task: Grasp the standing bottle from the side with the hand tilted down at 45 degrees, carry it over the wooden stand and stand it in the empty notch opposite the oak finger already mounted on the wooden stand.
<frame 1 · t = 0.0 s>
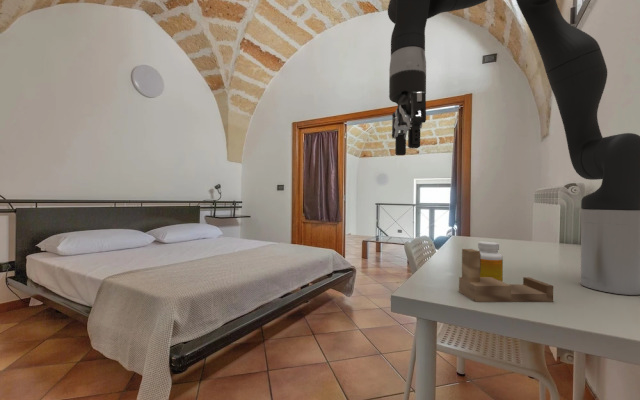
hand: (406, 151, 59), 29 cm above the table, tool pointing down, fingers open, 8 cm apart
wooden stand: (503, 296, 55), on the table
supplement bottle: (488, 287, 61), on the table
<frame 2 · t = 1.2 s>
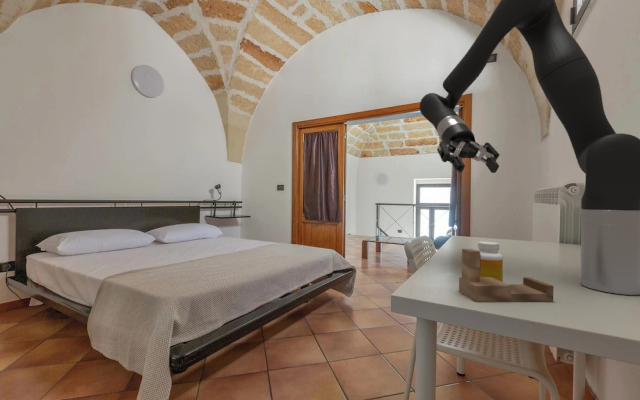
hand: (479, 169, 68), 27 cm above the table, tool tilted 45°, fingers open, 8 cm apart
nothing on the table moved.
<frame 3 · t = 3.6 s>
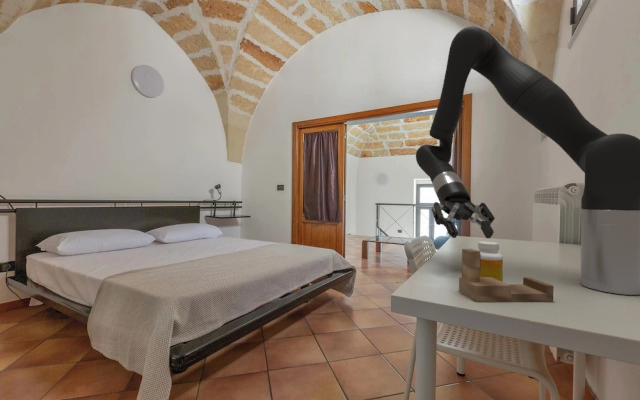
hand: (472, 236, 67), 10 cm above the table, tool tilted 45°, fingers open, 8 cm apart
nothing on the table moved.
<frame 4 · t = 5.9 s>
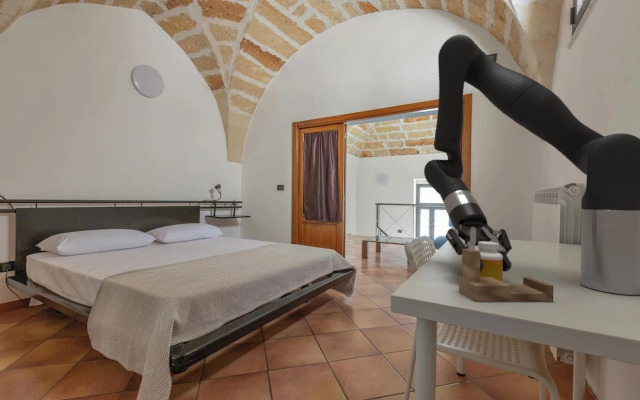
hand: (493, 269, 60), 4 cm above the table, tool tilted 45°, fingers closed on supplement bottle, 5 cm apart
supplement bottle: (488, 287, 61), on the table, touching gripper
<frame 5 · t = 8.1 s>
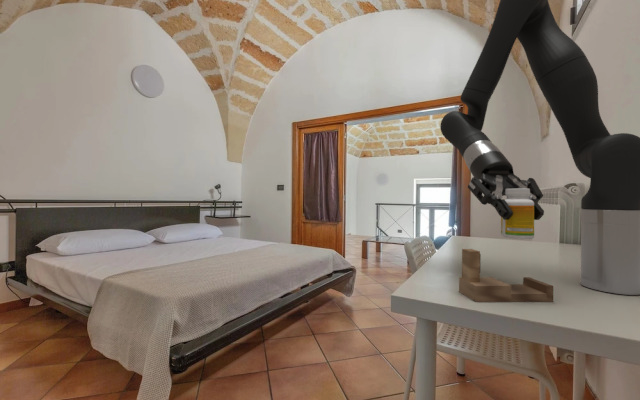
hand: (524, 216, 53), 16 cm above the table, tool tilted 45°, fingers closed on supplement bottle, 5 cm apart
supplement bottle: (517, 238, 55), point 11 cm above the table, touching gripper
when the fingers open (7 cm above the table, at t = 10.2 s): supplement bottle drops 1 cm, resting on wooden stand.
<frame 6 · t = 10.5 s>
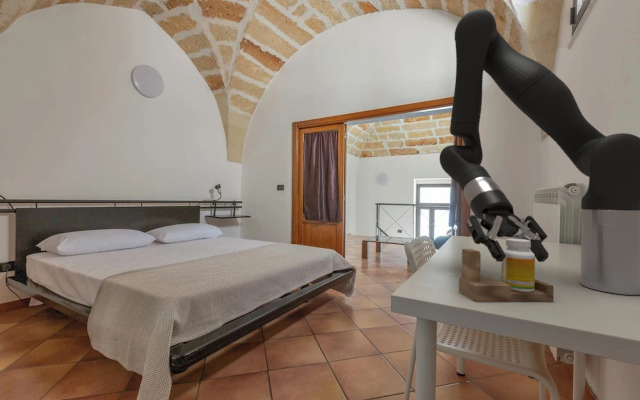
hand: (523, 259, 54), 8 cm above the table, tool tilted 45°, fingers open, 8 cm apart
supplement bottle: (517, 289, 55), point 1 cm above the table, touching wooden stand
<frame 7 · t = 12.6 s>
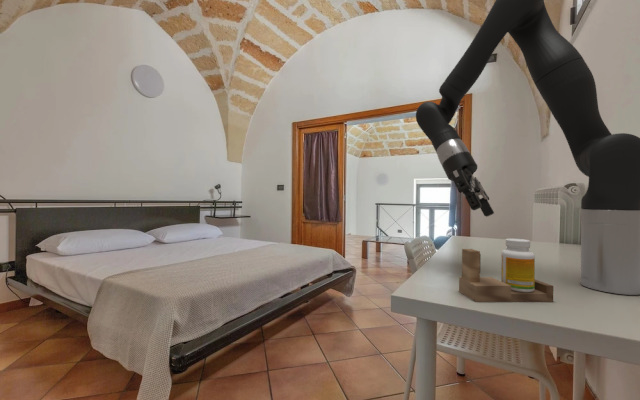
hand: (483, 212, 67), 16 cm above the table, tool tilted 30°, fingers open, 8 cm apart
nothing on the table moved.
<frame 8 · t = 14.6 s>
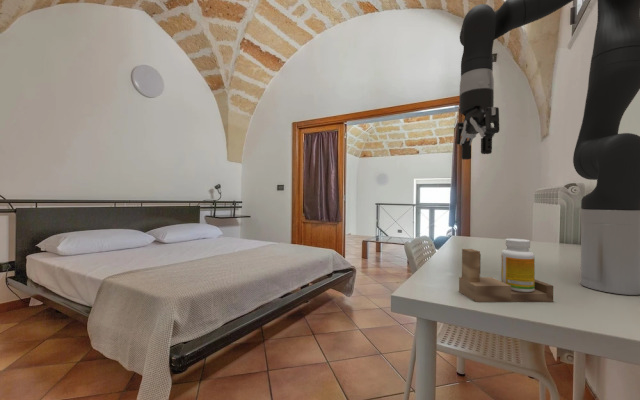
hand: (475, 156, 70), 30 cm above the table, tool pointing down, fingers open, 8 cm apart
nothing on the table moved.
at the end: supplement bottle inside the target area on the wooden stand (0.2 cm from its centre), point 1.3 cm above the wooden stand's base; supplement bottle tilted 0°; the gripper is holding nothing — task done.
